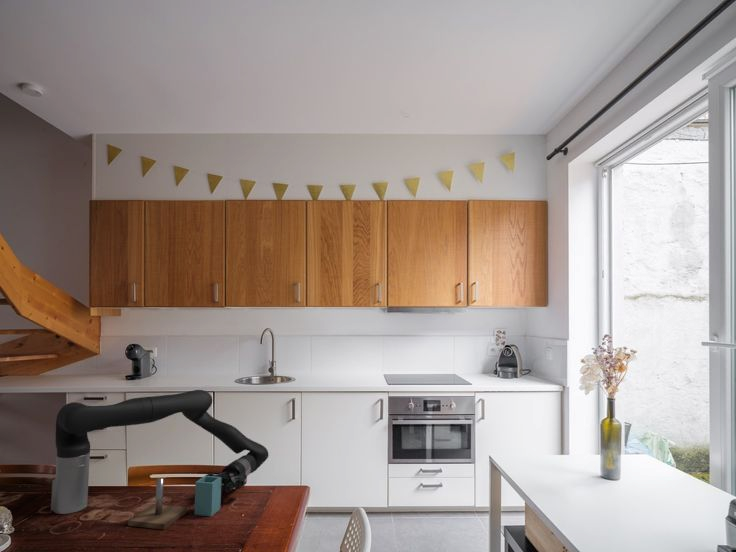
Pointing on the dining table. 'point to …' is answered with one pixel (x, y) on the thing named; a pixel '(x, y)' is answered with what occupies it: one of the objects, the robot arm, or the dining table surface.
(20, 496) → the dining table surface
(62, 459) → the robot arm
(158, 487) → the steel post
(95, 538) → the dining table surface
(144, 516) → the walnut base plate
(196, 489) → the teal sleeve
